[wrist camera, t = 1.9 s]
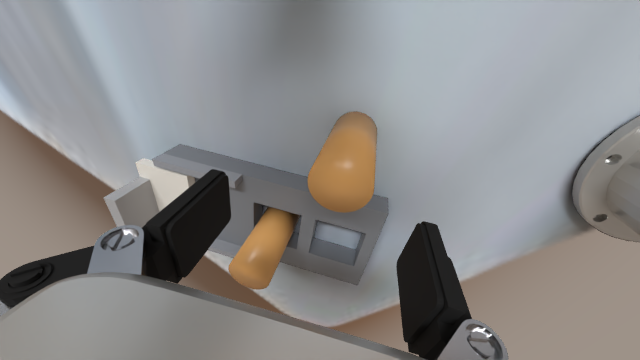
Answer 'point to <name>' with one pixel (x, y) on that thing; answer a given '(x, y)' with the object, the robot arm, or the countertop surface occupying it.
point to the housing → (288, 195)
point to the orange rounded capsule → (263, 249)
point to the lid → (146, 194)
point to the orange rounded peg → (346, 165)
